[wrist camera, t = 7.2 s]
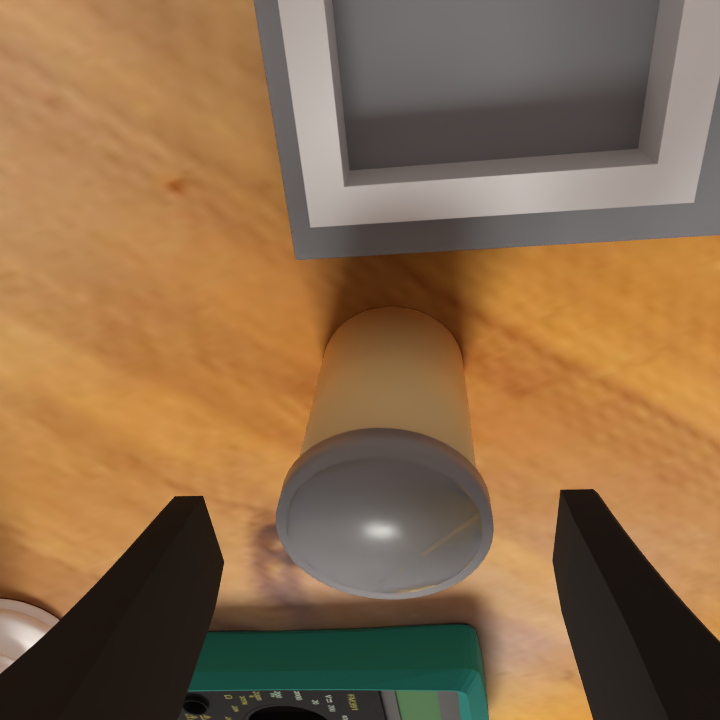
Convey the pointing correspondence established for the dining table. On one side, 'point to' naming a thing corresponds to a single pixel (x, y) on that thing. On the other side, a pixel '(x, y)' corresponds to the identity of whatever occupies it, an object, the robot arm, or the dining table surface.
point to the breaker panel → (493, 122)
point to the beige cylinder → (387, 464)
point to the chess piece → (20, 629)
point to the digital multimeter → (340, 675)
